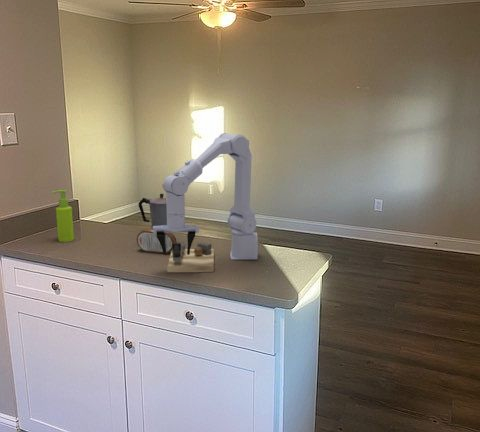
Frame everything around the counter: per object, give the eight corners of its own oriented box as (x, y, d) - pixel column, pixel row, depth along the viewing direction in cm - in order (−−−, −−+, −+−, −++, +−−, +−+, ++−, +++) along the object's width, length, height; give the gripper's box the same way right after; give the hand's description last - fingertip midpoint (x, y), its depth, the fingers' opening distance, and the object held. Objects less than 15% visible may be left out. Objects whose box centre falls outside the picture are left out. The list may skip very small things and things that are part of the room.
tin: (177, 252, 181) (176, 230, 179) (173, 255, 178) (173, 232, 176) (140, 249, 185) (139, 227, 183) (136, 251, 182) (135, 229, 180)
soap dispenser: (54, 239, 197) (51, 189, 193) (73, 237, 200) (69, 188, 196) (56, 242, 192) (52, 192, 188) (74, 240, 195) (71, 191, 190)
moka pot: (177, 248, 187) (176, 196, 182) (136, 247, 187) (134, 195, 182) (180, 241, 196) (180, 191, 191) (142, 240, 196) (140, 191, 192)
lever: (174, 249, 177) (173, 230, 176) (186, 249, 177) (186, 230, 176) (169, 265, 160) (169, 244, 158) (183, 265, 160) (183, 244, 158)
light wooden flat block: (172, 254, 179) (171, 239, 178) (213, 254, 180) (213, 239, 179) (167, 272, 161) (167, 256, 159) (213, 271, 162) (213, 255, 160)
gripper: (151, 216, 153) (152, 257, 156) (198, 215, 154) (198, 257, 157) (154, 211, 160) (155, 251, 163) (198, 211, 161) (199, 250, 164)
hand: (176, 253), depth 160 cm, fingers open, 7 cm apart
